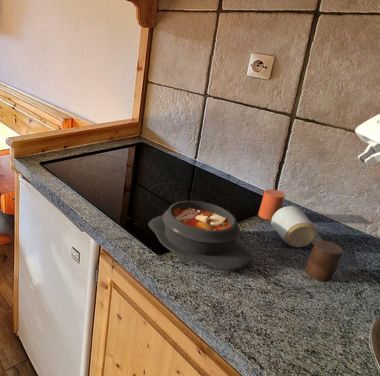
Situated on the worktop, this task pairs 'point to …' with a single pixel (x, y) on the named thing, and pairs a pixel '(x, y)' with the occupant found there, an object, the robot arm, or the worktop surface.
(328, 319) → the worktop surface
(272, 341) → the worktop surface
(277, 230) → the ceramic mug
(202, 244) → the casserole
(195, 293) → the worktop surface
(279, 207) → the terracotta post
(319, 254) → the walnut post
